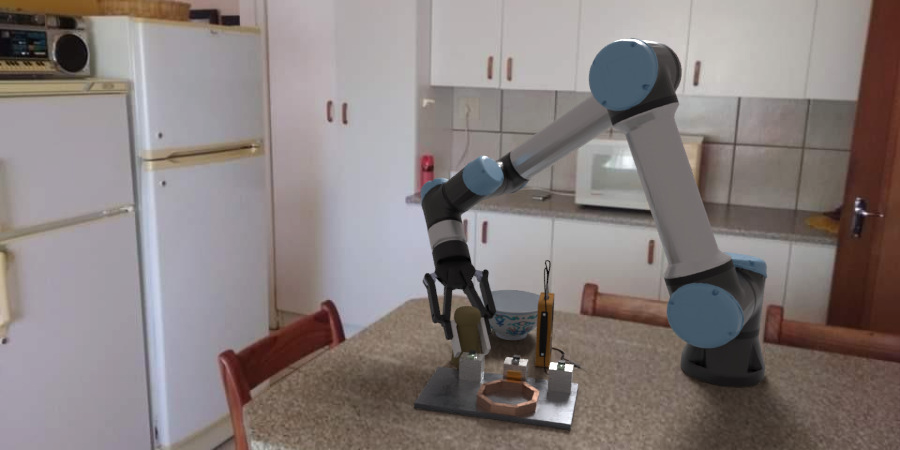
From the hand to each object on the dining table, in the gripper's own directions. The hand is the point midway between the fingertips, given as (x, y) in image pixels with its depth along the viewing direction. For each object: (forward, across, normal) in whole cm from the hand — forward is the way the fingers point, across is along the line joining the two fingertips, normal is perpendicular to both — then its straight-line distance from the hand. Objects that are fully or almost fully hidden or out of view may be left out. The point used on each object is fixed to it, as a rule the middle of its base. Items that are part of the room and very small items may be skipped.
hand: (472, 352), depth 136 cm
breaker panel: (+11, -1, +7) cm, 13 cm away
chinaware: (-8, -14, -13) cm, 21 cm away
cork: (0, 0, -5) cm, 5 cm away
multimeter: (+3, -18, -2) cm, 18 cm away
